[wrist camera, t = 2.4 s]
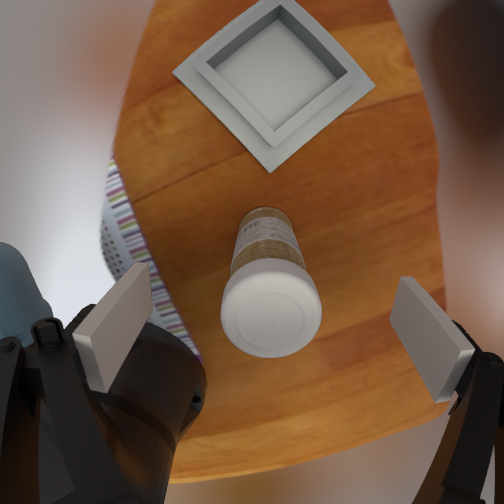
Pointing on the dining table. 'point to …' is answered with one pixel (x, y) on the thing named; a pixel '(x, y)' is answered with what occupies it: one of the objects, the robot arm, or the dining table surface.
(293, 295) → the spice jar
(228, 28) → the holder
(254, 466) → the dining table surface
